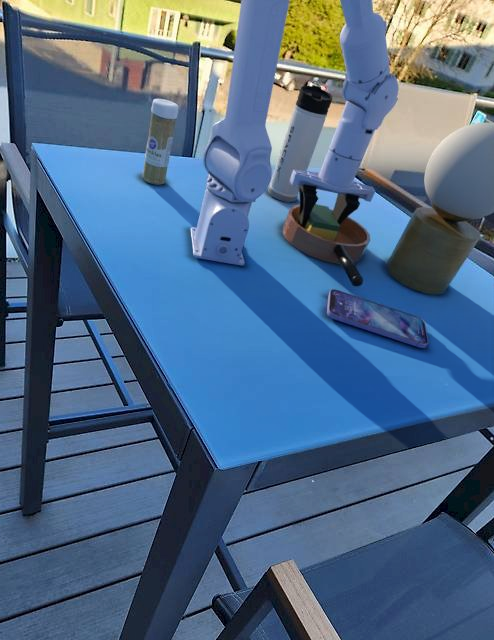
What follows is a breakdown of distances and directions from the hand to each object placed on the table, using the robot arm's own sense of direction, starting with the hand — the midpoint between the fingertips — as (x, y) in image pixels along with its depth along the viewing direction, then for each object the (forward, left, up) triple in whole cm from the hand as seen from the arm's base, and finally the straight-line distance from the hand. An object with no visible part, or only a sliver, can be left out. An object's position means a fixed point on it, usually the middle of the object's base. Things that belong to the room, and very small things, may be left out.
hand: (314, 231), depth 88 cm
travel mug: (+19, +2, -2) cm, 19 cm away
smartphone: (-24, -4, -2) cm, 24 cm away
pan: (0, -2, -2) cm, 3 cm away
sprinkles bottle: (+13, +29, -2) cm, 32 cm away
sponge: (0, 0, -1) cm, 1 cm away
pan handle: (-12, -2, 0) cm, 13 cm away
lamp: (-6, -19, -2) cm, 20 cm away
